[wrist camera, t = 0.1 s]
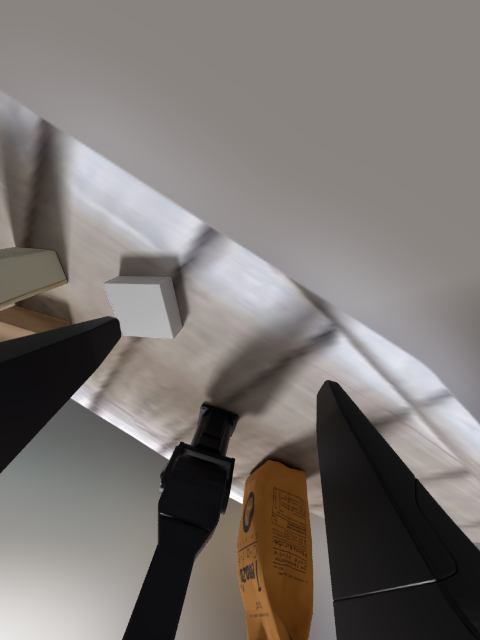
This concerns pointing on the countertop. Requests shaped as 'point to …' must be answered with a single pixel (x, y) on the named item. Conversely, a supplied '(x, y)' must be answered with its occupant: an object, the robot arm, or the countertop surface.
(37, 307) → the countertop surface
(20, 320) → the brown flat block
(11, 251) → the skincare box
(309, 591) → the coffee package
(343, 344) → the countertop surface
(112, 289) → the grey block
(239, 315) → the countertop surface
